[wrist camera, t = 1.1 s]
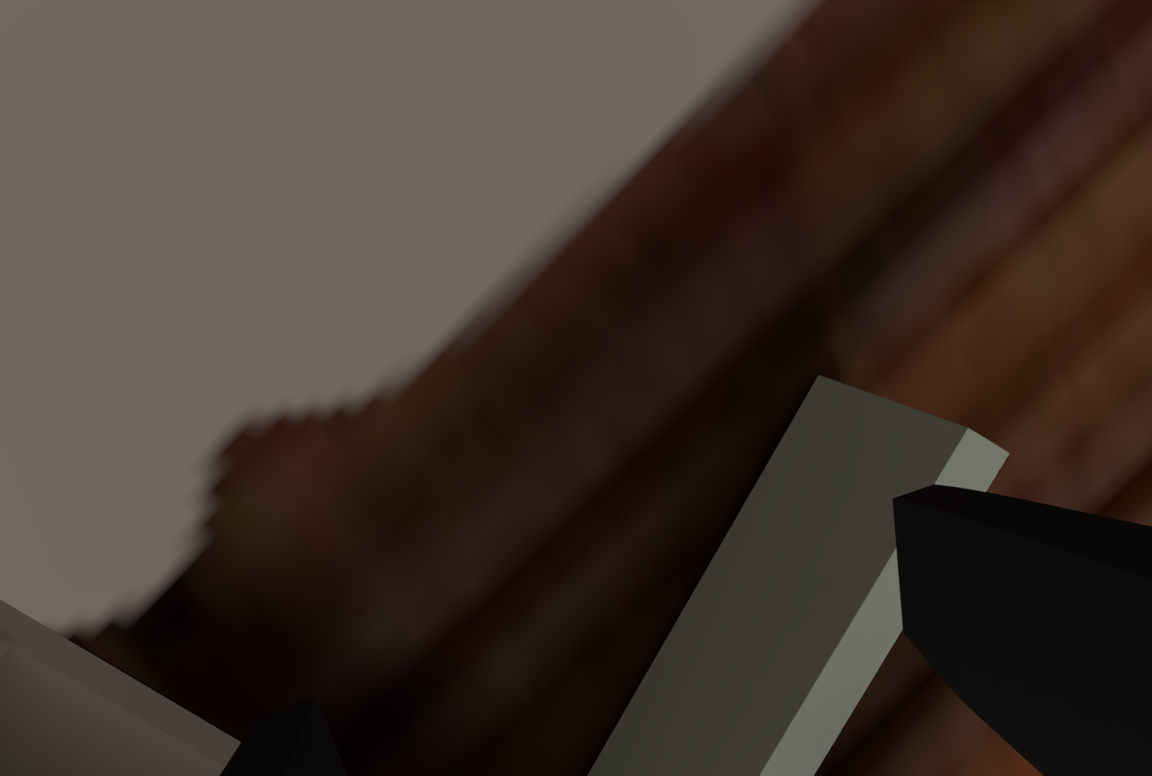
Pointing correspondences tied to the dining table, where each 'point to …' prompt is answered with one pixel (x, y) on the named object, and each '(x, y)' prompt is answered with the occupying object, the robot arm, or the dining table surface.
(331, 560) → the dining table surface
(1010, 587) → the robot arm
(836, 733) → the door
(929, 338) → the dining table surface
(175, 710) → the white box
